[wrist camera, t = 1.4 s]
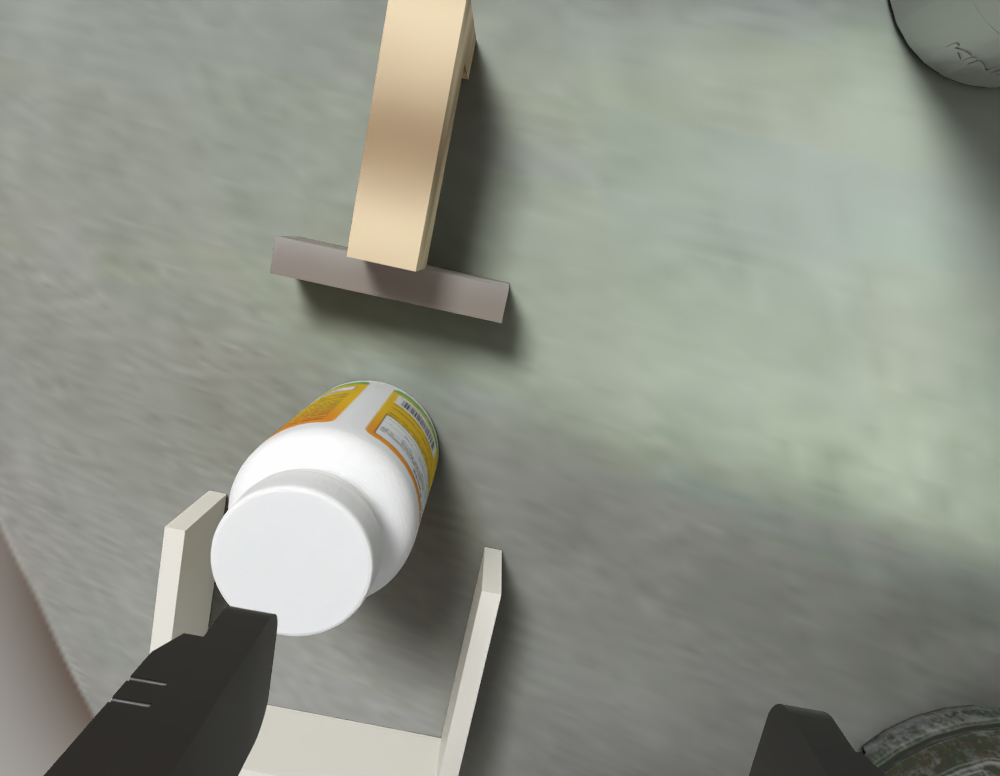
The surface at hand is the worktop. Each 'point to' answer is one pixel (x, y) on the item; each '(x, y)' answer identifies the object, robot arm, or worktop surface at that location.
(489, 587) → the box
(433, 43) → the scraper
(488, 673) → the worktop surface
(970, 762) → the canister
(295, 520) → the supplement bottle
